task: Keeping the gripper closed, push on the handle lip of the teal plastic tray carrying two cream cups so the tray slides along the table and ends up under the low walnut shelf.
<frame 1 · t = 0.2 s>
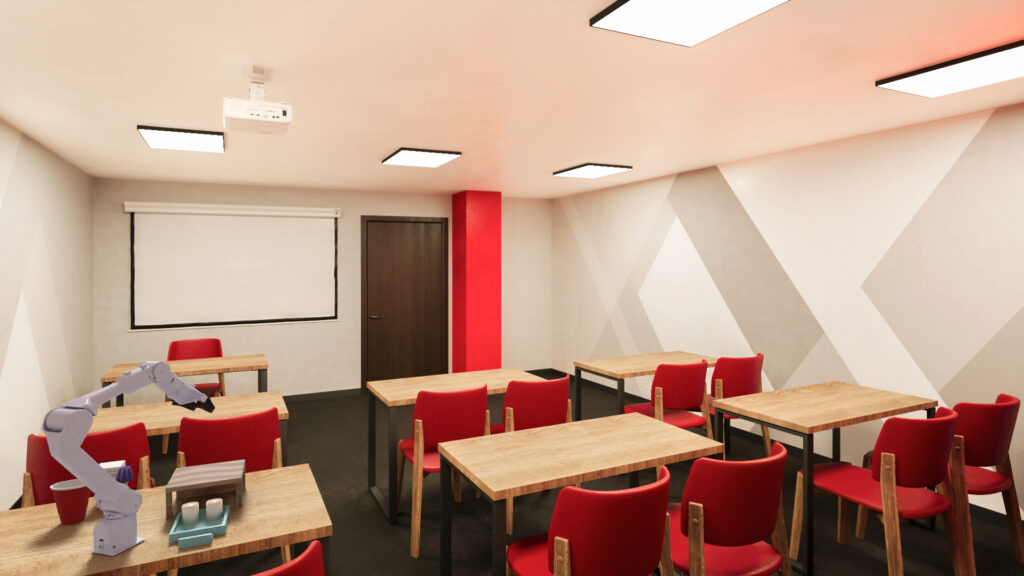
hand: (204, 409, 179), 32 cm above the table, tool tilted 50°, fingers open, 7 cm apart
walnut shelf: (208, 502, 182), on the table
supplement box: (111, 502, 184), on the table
plastic cup: (73, 521, 170), on the table
tray: (201, 527, 165), on the table
toy lamp: (125, 521, 169), on the table
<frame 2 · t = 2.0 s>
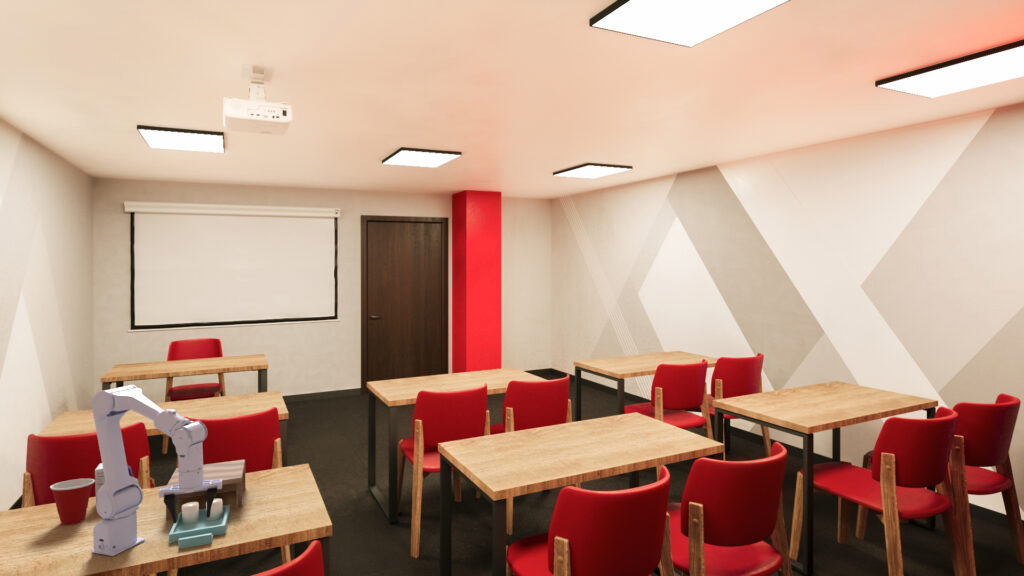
hand: (192, 519, 148), 9 cm above the table, tool pointing down, fingers open, 7 cm apart
nothing on the table moved.
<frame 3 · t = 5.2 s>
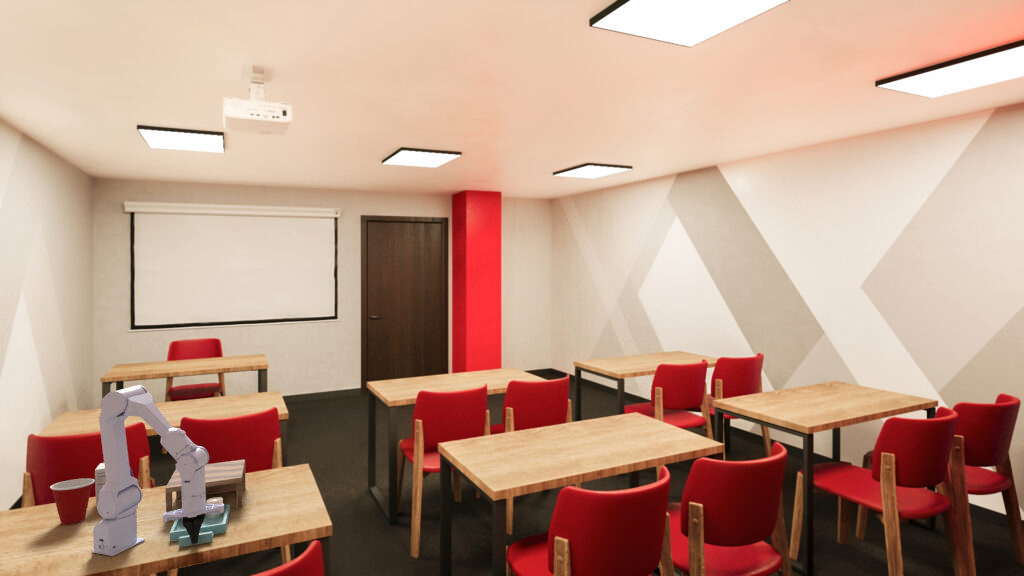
hand: (194, 542, 152), 1 cm above the table, tool pointing down, fingers closed
nothing on the table moved.
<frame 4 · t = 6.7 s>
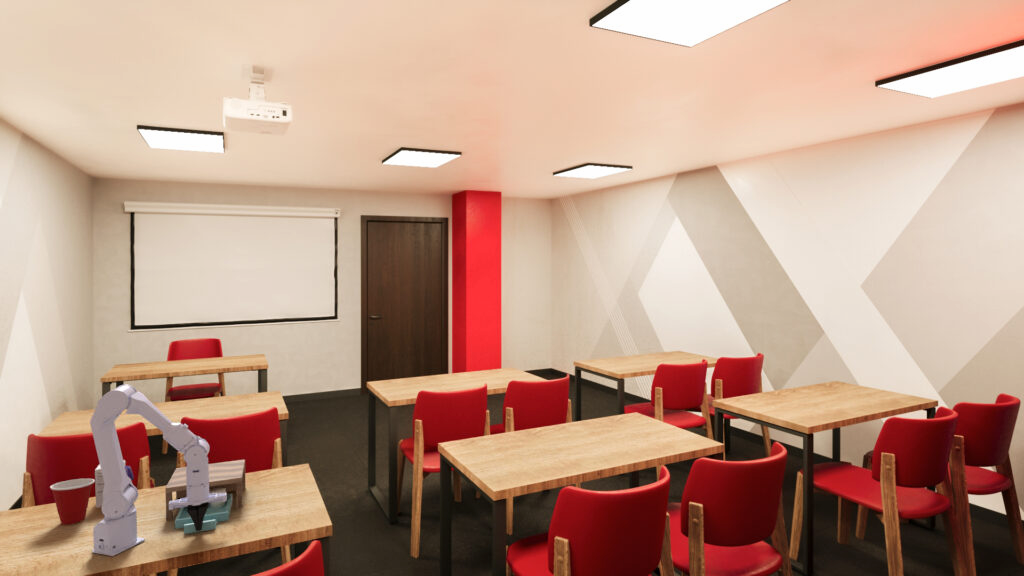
hand: (199, 529, 160), 1 cm above the table, tool pointing down, fingers closed, pressing on tray
tray: (205, 514, 173), on the table, touching gripper
everything else where it was.
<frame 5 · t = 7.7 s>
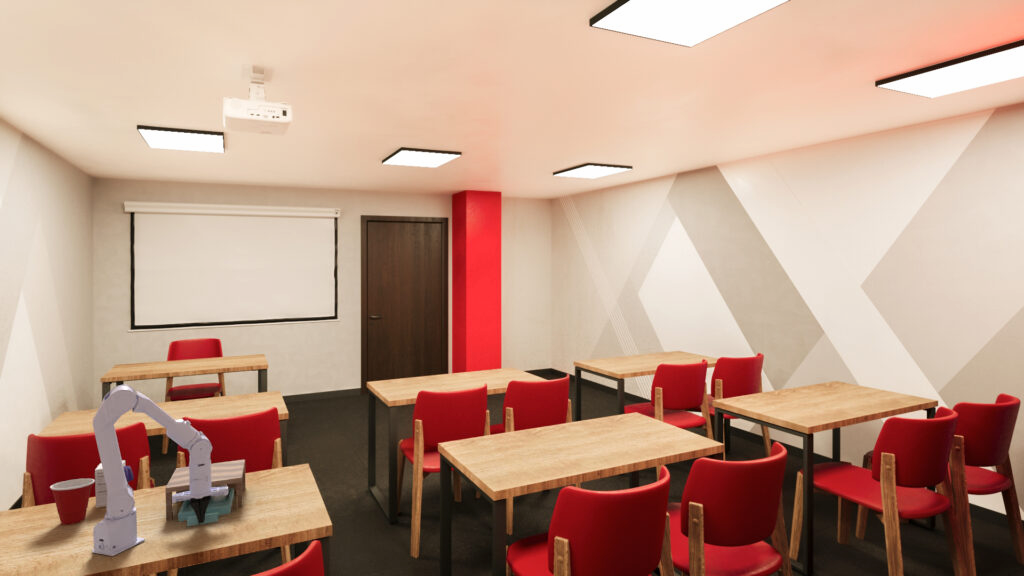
hand: (201, 521, 165), 1 cm above the table, tool pointing down, fingers closed, pressing on tray
tray: (207, 507, 178), on the table, touching gripper
everything else where it was.
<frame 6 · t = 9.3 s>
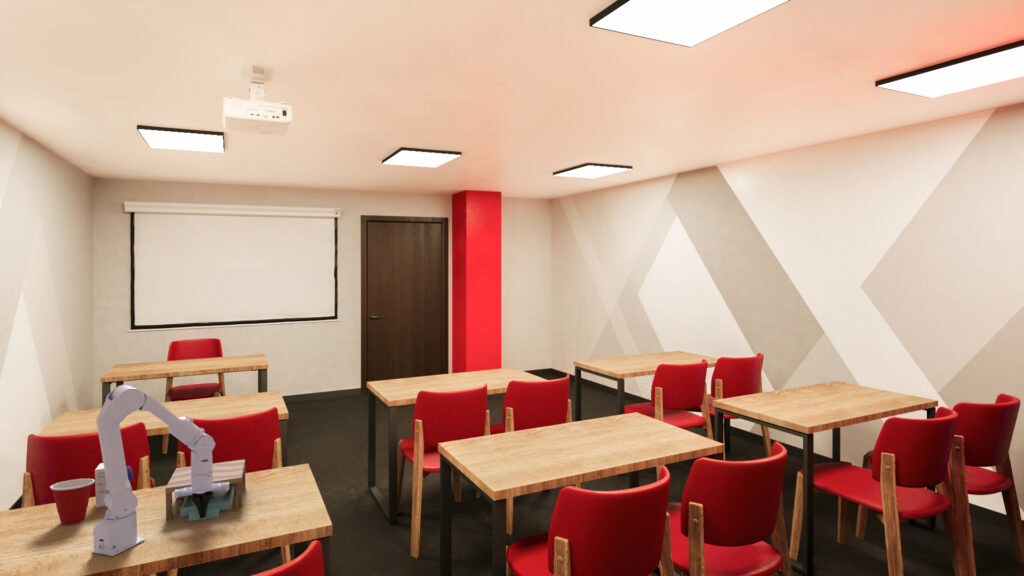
hand: (203, 516, 169), 1 cm above the table, tool pointing down, fingers closed
tray: (208, 503, 182), on the table, touching gripper
everything else where it was.
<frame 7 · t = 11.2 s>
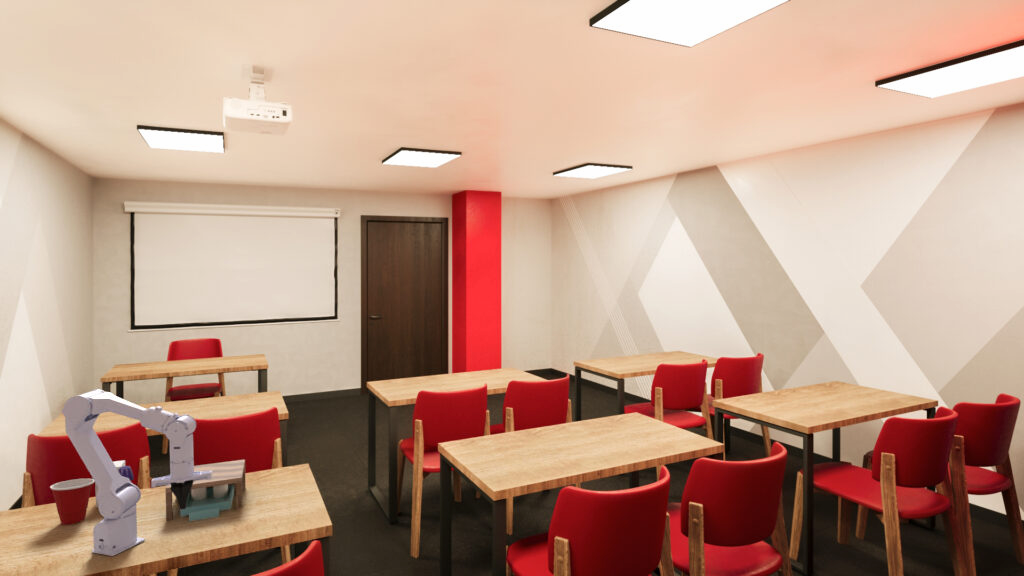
hand: (183, 507, 155), 9 cm above the table, tool pointing down, fingers closed
tray: (208, 503, 182), on the table
everything else where it was.
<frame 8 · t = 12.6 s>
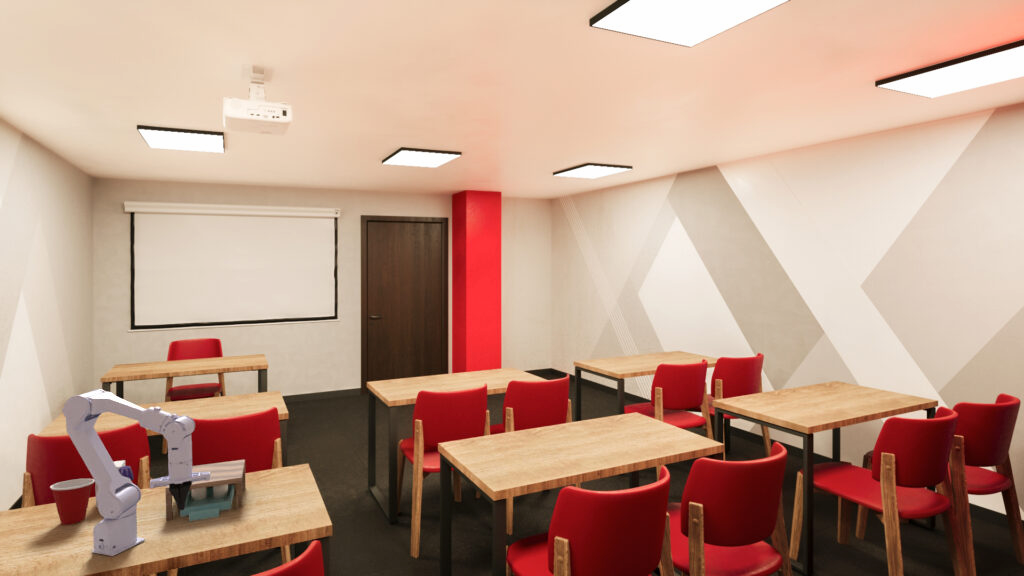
hand: (181, 509, 155), 9 cm above the table, tool pointing down, fingers closed
nothing on the table moved.
at the end: tray 0.5 cm from the walnut shelf (horizontally); tray tilted 0°; tray on the table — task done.
